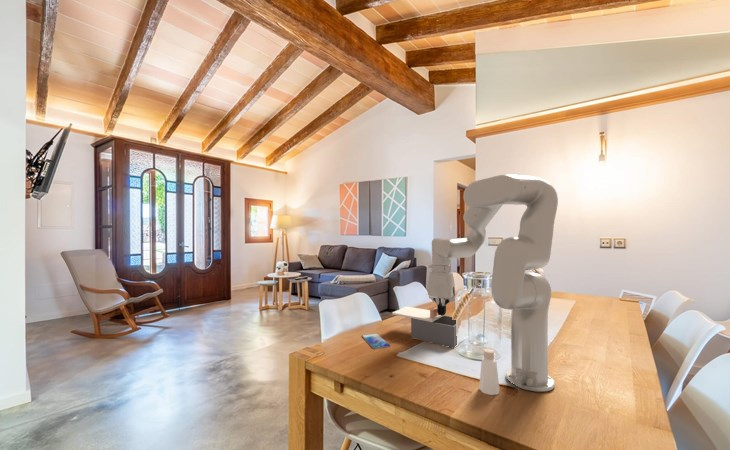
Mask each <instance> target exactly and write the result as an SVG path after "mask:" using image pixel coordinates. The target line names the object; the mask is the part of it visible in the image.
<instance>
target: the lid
mask: <svg viewBox="0 0 730 450" xmlns="http://www.w3.org/2000/svg"><path fill="white" fill-rule="evenodd" d="M391 312H392V313H391V315H393V316H398V317H403V318H409V319H411V318H413V319H418V320H423V321H428V322H434V321H435V320H437V319H439V318H441V317H442V316H441V315H438V312H437V306H436V307H434V308H432V309H423V308H419V307H412V306H403V307H402V308H400V309H397V310H395V311H391ZM443 316H444V315H443Z"/></svg>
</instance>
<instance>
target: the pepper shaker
mask: <svg viewBox="0 0 730 450" xmlns="http://www.w3.org/2000/svg"><path fill="white" fill-rule="evenodd" d="M479 373H480V377H479V384H478V389H479V391H480V392H481V393H482V394H484V395H485V394H486V395H489V396H495V395H499V393H500V389H501V388H500V380H499V372H498V365H497V360H496V359H495V351H494V350H492V349H490V348H485V349H483V357H482V359H481V364H480V372H479Z"/></svg>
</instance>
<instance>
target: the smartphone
mask: <svg viewBox="0 0 730 450" xmlns="http://www.w3.org/2000/svg"><path fill="white" fill-rule="evenodd" d="M361 338H362V339H363V340H364V341H365V342H366V343H367V344H368V345H369V347H371V349H373V350H377V349H380V350H381V349H387V348H391V346H392V345H391V344H390V343H389V342H388V341H386V340H385V339H384V338H383V337H382V335H379V333H369V334H368V333H367V334H361Z"/></svg>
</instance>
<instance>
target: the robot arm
mask: <svg viewBox="0 0 730 450" xmlns="http://www.w3.org/2000/svg"><path fill="white" fill-rule="evenodd" d="M463 201H464V203H465V205H466V206H468V207H467V209H466V210H465V212H464V213H463V216H462V218H463V221H464V223H465V224H466V225H467V226H468V227H469V228H470V231H469V232H468V234H467V235H466V236H465V237H456V238H455V237H454V238H446V237H437V238H435V237H434V238H432V240H431V264H430V265H428V269H431V271H430V272H429V274H428V275H429V276H428V280H427V281H428V282H427V296H428V299H430V300H433V301H434V302H435V305H436V307H437V312H438V315H441V316H443V315H445V316H446V314H447V305H448V304H449V303H453V302H455V301H456V299H455V297H456V286H455V285H456V284H455V277H454V272H452V259H460V258H471V257H473V256H474V255H475V254H476V253H477V252H478V251H479V249H480V248H481V247H482V246H483V244H484V243H485V240H486V234H487V232H486V227H487V226H488V225H489V224H490V222H491V221H492V220H493V218H494V217H495V215H496V214H497V213H498V211H500V209H502V208H501V207H503V205H517V206H518V205H524V206H526V209H525V210H524V212H523V213H522V215H521V217H520V218H521V219H520V221H519V230H518V231H519V232H518V236H510V237H507V238H504V239H503V240H502V241H500V242H499V243H498V245H497V246H496V249H495V251H494V257H493V266H492V267H493V268H492V277H491V284H490V285H491V286H490V288H491V295H492V299H493V301H494V303H495V304H496V305H497V306H498V307H500V308H501V309H503V310H512V311H511V318H510V338H511V340H510V342H511V343H510V344H511V345H510V350H511V351H510V353H511V355H510V356H511V357H510V358H511V360H510V361H511V363H510V365H511V366H510V367H511V368H509V369H508V370H506V372H505V378H506V380H507V379H508V380H509V381H510V382H512V383H514V384H515V385H516V386H515V385H514V386H515V387H517V386H518V387H517V388H519V389H523V390H525V391H526V390H527V391H530V392H531V391H532V392H538V393H540V392H542V393H543V392H549V391H551V390H552V391H553V389H554V388H555V380H554V379H553V378H552V377H551V376H550V375H549V349H548V347H549V346H548V343H549V342H548V341H549V338H548V337H549V335H548V331H549V327H548V326H549V320H548V319H549V309H550V303H551V300H552V299H551V298H552V287H551V285H550V283H549V280H548V279H547V278H546V277H544V276H543V275H542V274H540V273H537V272H531V271H533V270H539V269H542V268H544V267H546V266H547V265H548V264H549V262H550V258H551V254H552V253H551V252H552V245H553V237H554V228H555V221H556V215H557V210H558V204H559V203H558V202H559V198H558V192H557V191H556V189H555V188H554V186H553V185H552V183H550V182H548V181H547V180H546V179H543V178H541V177H537V176H536V177H535V176H531V175H517V174H507V173H506V174H500V175H495V176H490V177H487V178H482V179H478V180H475V181H473V182H471V183H469V184H468V185H467V186H466V187H465V189H464V191H463ZM526 271H529V272H526ZM508 380H507V381H508ZM509 381H508V382H509ZM510 382H509V383H510ZM512 383H511V384H512Z"/></svg>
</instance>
